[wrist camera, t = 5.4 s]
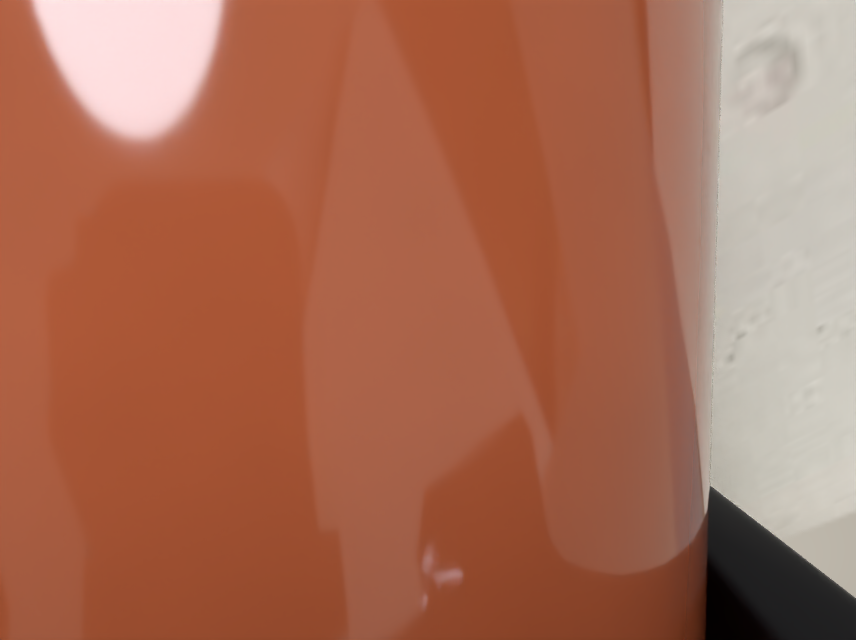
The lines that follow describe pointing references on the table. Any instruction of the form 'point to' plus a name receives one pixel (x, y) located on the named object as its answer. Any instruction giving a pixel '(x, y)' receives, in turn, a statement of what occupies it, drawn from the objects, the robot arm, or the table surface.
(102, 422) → the cup
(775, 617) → the robot arm
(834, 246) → the table surface
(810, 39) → the table surface
